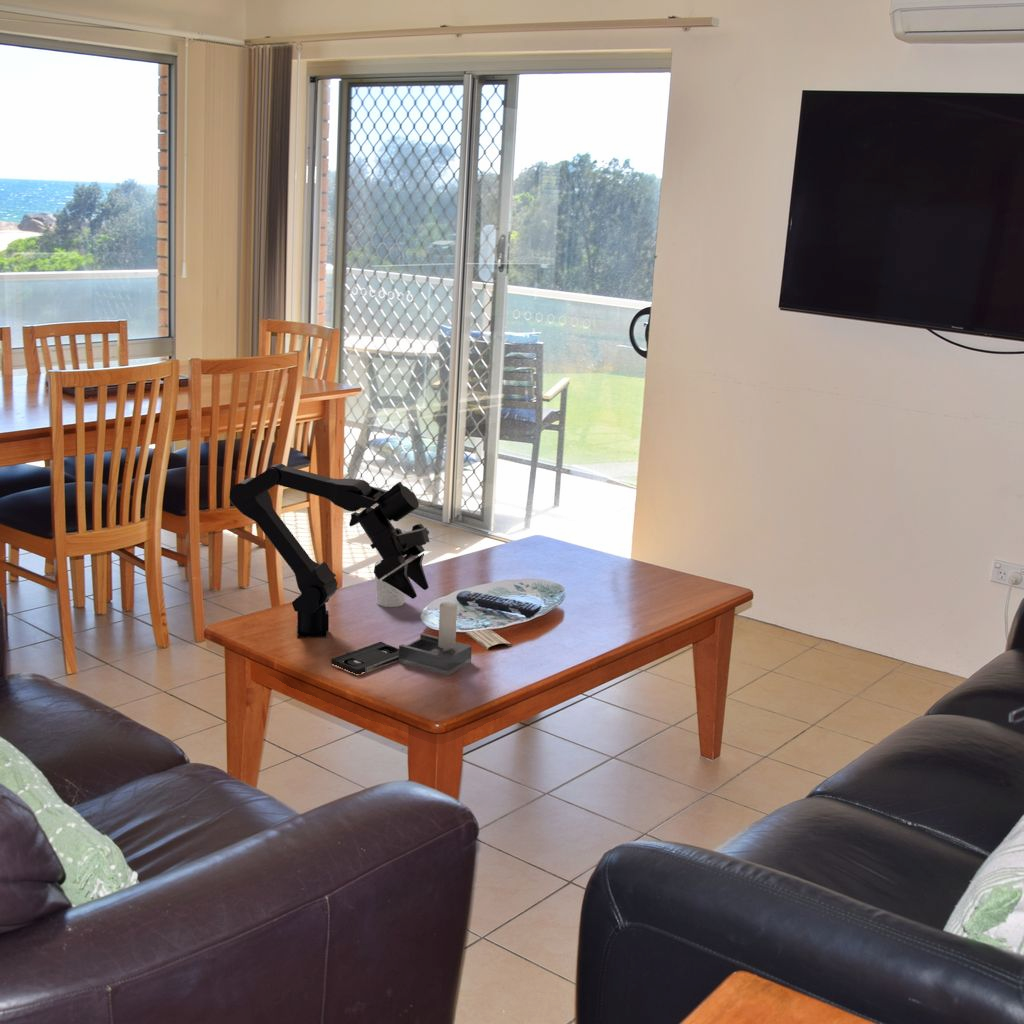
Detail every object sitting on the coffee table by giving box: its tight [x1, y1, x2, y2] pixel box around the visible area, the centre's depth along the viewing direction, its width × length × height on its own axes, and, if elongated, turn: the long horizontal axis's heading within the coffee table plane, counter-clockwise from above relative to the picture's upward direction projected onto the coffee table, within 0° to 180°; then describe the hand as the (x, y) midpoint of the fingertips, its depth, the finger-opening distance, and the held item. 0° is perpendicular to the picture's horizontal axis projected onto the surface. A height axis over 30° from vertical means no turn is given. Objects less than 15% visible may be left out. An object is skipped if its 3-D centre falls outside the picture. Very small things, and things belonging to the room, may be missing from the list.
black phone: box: [330, 641, 399, 674], centre depth 251 cm, size 14×8×2 cm, turn 140°
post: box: [438, 601, 458, 652], centre depth 249 cm, size 5×5×12 cm
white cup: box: [374, 558, 406, 608], centre depth 286 cm, size 8×8×10 cm
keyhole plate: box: [398, 633, 473, 677], centre depth 252 cm, size 12×9×4 cm
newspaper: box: [465, 629, 512, 650], centre depth 272 cm, size 24×7×2 cm, turn 29°
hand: (421, 593), depth 256 cm, fingers open, 9 cm apart
